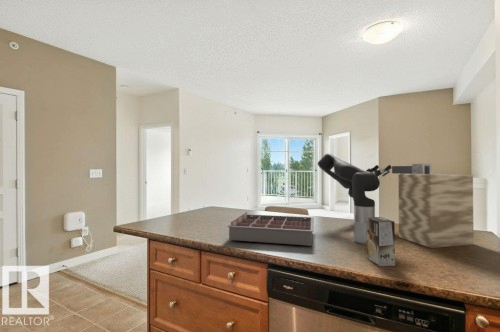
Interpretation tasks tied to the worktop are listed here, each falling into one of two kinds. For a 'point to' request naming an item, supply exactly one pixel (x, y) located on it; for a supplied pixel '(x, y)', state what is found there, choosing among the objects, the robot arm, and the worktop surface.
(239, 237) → the organizer tray
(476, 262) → the worktop surface
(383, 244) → the coffee box
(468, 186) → the wood grain block
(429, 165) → the bar
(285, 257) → the worktop surface
